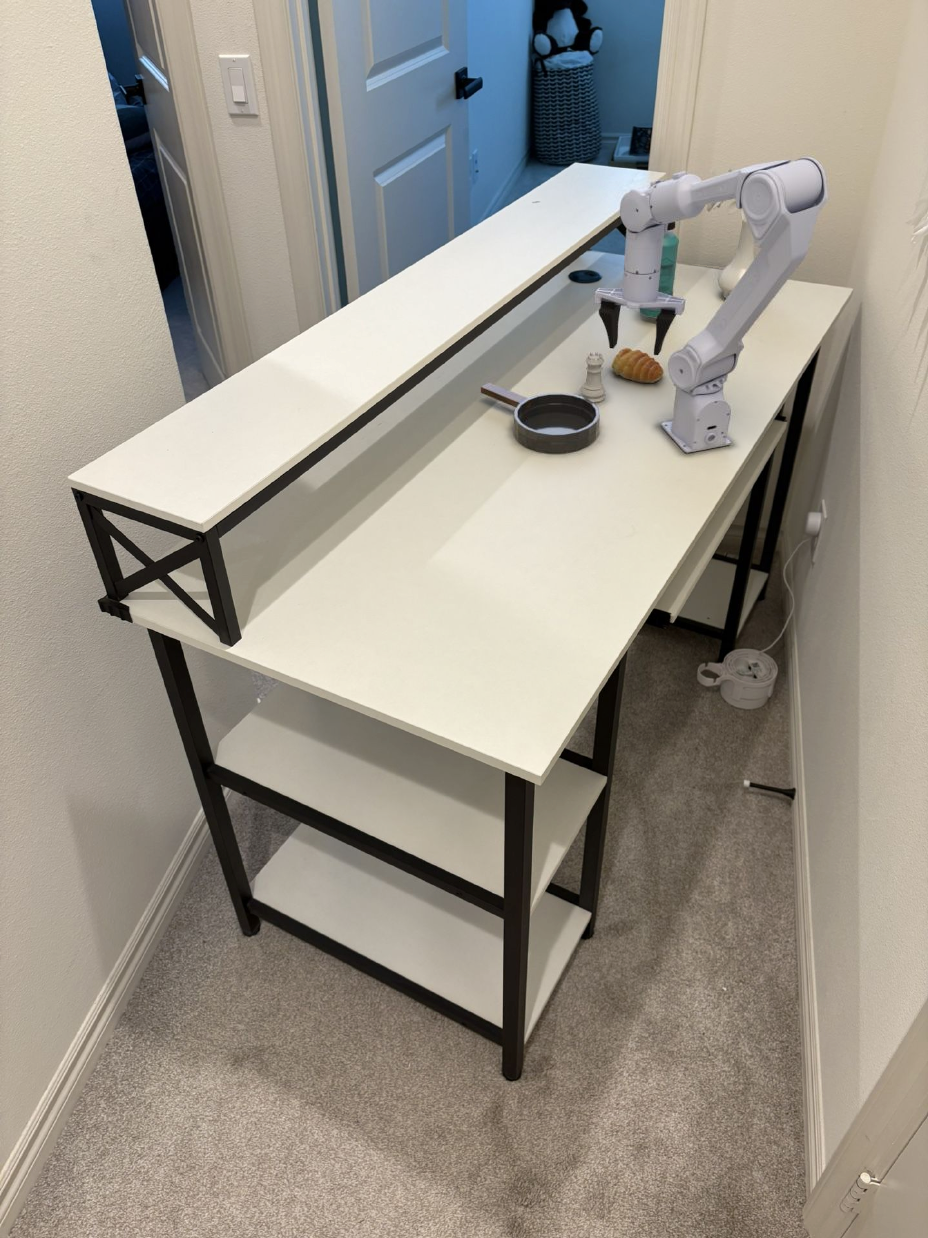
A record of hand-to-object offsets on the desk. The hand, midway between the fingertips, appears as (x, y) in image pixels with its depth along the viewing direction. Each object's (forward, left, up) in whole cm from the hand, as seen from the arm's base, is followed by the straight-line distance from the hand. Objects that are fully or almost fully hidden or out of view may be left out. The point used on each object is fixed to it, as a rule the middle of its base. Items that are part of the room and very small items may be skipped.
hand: (635, 349), depth 150 cm
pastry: (+9, -5, -10) cm, 14 cm away
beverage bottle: (+30, -18, -10) cm, 36 cm away
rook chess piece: (+3, +6, -10) cm, 12 cm away
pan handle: (+4, +22, -7) cm, 23 cm away
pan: (-6, +16, -9) cm, 19 cm away
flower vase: (+34, -38, -10) cm, 52 cm away
